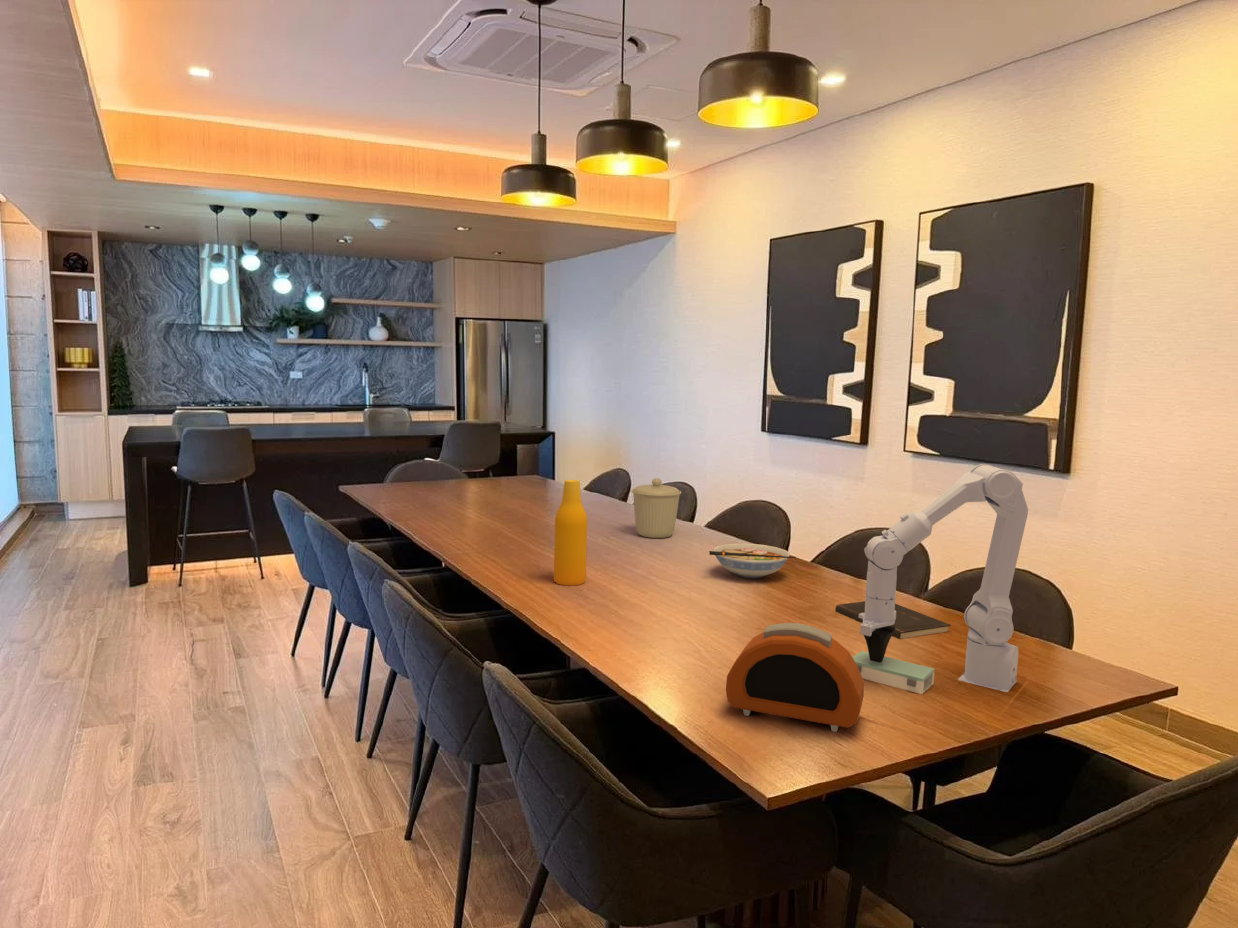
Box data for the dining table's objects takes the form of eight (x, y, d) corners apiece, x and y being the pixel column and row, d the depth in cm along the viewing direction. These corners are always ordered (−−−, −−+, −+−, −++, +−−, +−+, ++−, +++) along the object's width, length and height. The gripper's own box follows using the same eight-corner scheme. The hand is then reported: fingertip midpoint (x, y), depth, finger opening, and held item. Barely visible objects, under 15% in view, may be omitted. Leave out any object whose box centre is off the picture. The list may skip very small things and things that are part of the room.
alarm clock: (723, 713, 149) (727, 624, 147) (735, 695, 158) (739, 610, 156) (857, 737, 141) (864, 643, 139) (862, 717, 149) (868, 627, 147)
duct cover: (934, 671, 164) (934, 668, 164) (922, 681, 159) (923, 678, 159) (861, 653, 174) (861, 650, 173) (848, 662, 168) (848, 659, 168)
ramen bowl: (788, 568, 258) (789, 542, 257) (796, 587, 235) (798, 559, 234) (707, 564, 260) (709, 538, 259) (708, 583, 238) (709, 555, 237)
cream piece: (933, 686, 165) (934, 671, 164) (920, 697, 159) (921, 682, 158) (860, 667, 174) (861, 653, 174) (846, 677, 168) (847, 663, 168)
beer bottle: (566, 587, 228) (569, 484, 225) (547, 580, 235) (548, 479, 232) (592, 582, 234) (595, 481, 231) (572, 575, 241) (574, 477, 238)
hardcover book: (882, 607, 221) (883, 598, 220) (949, 633, 200) (950, 624, 200) (834, 613, 214) (835, 604, 214) (899, 641, 193) (900, 632, 193)
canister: (626, 539, 294) (628, 480, 291) (634, 529, 311) (635, 473, 309) (677, 542, 291) (679, 483, 288) (681, 532, 309) (684, 476, 306)
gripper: (874, 585, 175) (870, 647, 176) (847, 599, 163) (843, 666, 165) (907, 591, 170) (903, 655, 172) (882, 606, 159) (877, 674, 160)
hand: (876, 661), depth 168 cm, fingers closed, pressing on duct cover
